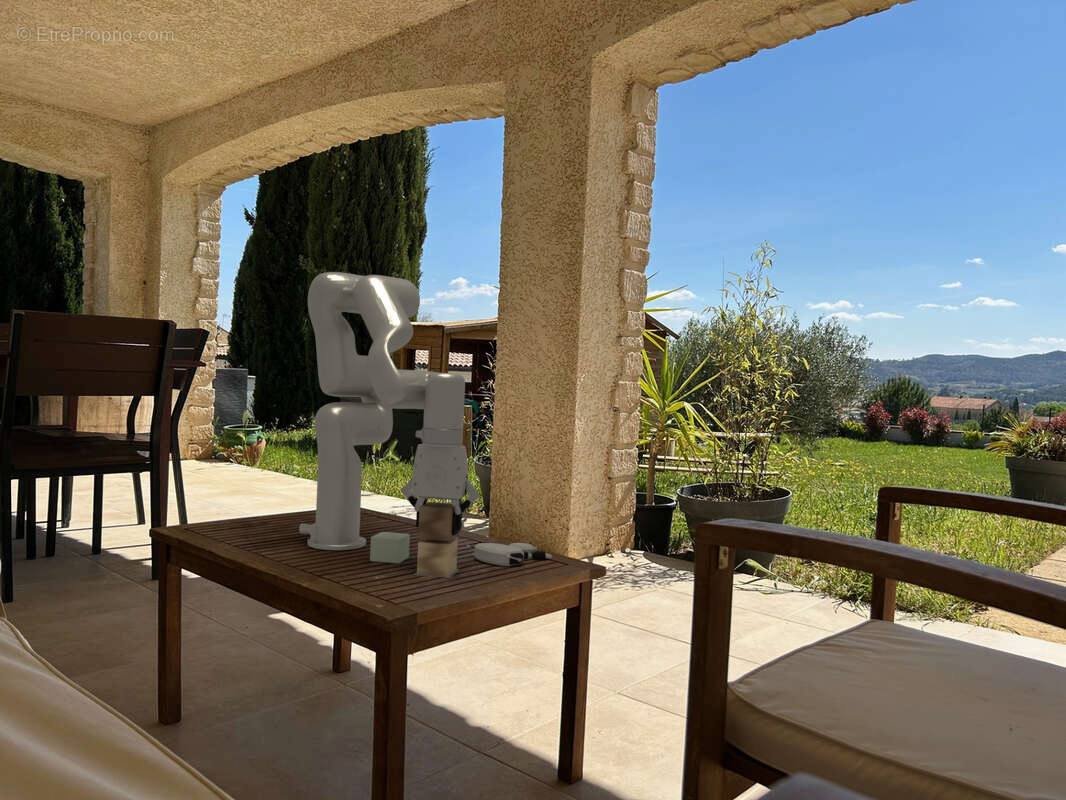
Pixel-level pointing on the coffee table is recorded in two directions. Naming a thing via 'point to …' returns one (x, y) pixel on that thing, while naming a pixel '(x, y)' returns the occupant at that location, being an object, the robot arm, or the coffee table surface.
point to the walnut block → (436, 521)
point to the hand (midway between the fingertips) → (438, 531)
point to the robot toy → (507, 553)
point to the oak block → (437, 557)
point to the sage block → (389, 547)
